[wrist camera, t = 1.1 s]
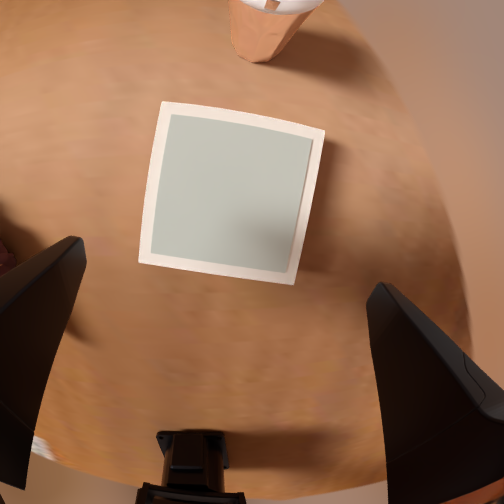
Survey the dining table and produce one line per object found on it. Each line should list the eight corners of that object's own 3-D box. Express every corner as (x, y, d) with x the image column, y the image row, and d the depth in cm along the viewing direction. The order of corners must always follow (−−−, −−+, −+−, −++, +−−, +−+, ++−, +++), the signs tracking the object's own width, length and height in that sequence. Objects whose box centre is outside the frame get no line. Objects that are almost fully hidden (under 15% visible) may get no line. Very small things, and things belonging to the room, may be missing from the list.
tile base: (283, 269, 20) (294, 286, 17) (150, 249, 19) (137, 263, 16) (309, 136, 18) (326, 130, 15) (171, 112, 17) (161, 100, 14)
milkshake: (212, 75, 16) (205, -10, 7) (230, 12, 15) (240, -85, 5) (282, 89, 17) (337, 19, 7) (295, 26, 16) (346, -60, 6)
